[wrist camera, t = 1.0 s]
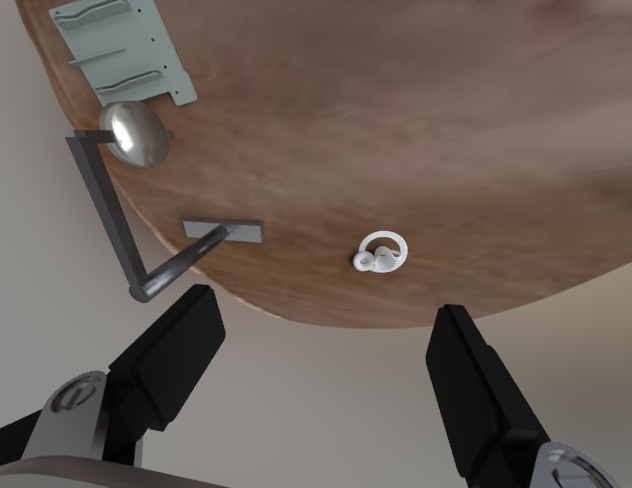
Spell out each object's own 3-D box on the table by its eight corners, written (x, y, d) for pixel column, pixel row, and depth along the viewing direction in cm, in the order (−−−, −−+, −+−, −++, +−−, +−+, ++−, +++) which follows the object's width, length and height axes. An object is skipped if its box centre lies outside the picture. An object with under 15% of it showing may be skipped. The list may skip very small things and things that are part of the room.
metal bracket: (99, 127, 31) (11, -20, 25) (127, 130, 36) (59, 10, 31) (200, 94, 31) (135, -60, 25) (213, 103, 36) (161, -23, 31)
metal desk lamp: (163, 111, 34) (-26, 92, 17) (252, 110, 32) (138, 88, 15) (194, 232, 43) (88, 298, 26) (265, 237, 41) (202, 313, 24)
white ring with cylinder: (352, 268, 42) (351, 281, 38) (355, 227, 38) (355, 238, 34) (402, 272, 40) (406, 286, 37) (410, 231, 37) (416, 242, 33)
